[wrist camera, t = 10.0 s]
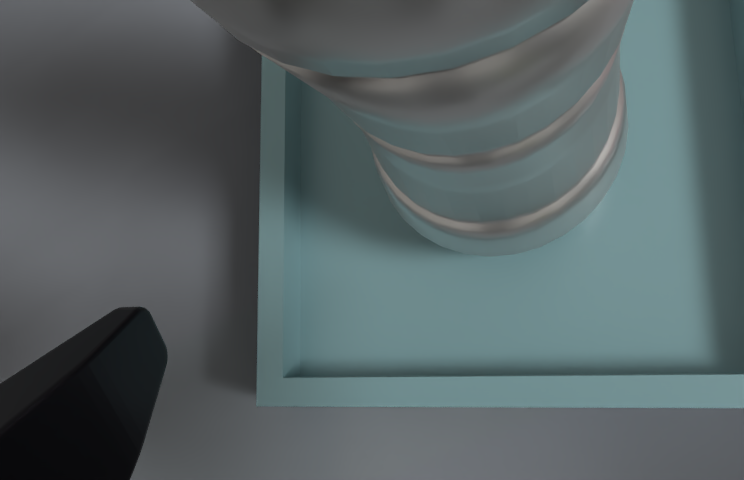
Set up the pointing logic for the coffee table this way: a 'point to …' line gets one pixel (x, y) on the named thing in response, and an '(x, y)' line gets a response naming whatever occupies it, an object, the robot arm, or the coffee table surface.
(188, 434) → the coffee table surface
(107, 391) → the robot arm
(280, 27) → the plastic bottle
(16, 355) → the coffee table surface
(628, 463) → the coffee table surface
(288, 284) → the tray
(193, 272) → the coffee table surface
